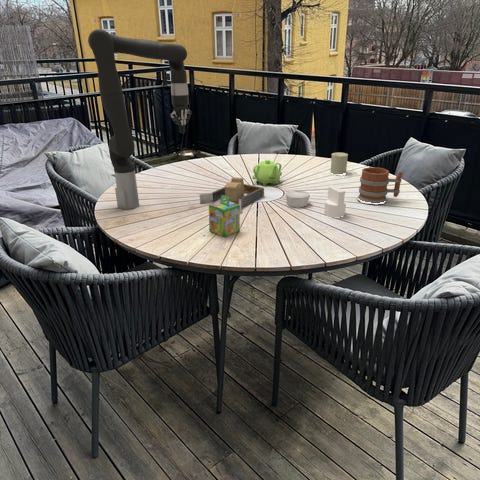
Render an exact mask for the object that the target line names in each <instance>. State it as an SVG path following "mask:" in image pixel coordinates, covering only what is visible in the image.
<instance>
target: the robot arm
mask: <svg viewBox="0 0 480 480" xmlns="http://www.w3.org/2000/svg"><path fill="white" fill-rule="evenodd" d="M87 42H88V43H87V44H88V46H89V48H90V49H91V50H92V53H93V57H94V61H95V63H96V67H97V75H98V76H97V78H98V88H99V95H100V99H101V105H102V107H103V110H104V111H105V114H106V116H107V118H108V120H109V122H110V124H111V126H112V130H113V135H112V136H111V137H110V138H109V142H108V151H109V155H110V156H109V158H110V162H111V165H112V167H113V172H114V179H115V185H116V187H115V188H114V190H115V198H116V205H117V208H119V209H123V210H131V209H135V208H138V207H139V206H140V203H139V202H140V200H139V193H138V191H139V190H138V183H137V176H136V168H135V164H134V162H133V161H132V158H131V157H132V155H133V154H134V153H135V147H136V146H135V142H134V139H133V135H132V132H131V129H130V124H129V119H128V114H127V109H126V103H125V102H126V101H125V97H124V93H123V88H122V84H121V83H122V82H121V80H120V76H119V73H118V69H117V66H116V65H117V64H116V58H115V54H122V55H123V54H124V55H130V56H134V57H140V58H143V59H151V60H157V61H159V60H161V61H162V60H163V61H167V62H168V65H169V70H170V93H171V105H172V106H173V108H172V112H171V113H169V117H170V119H172V120H171V121H173V123H174V124H175V125H178V132H179V133H180V134H185V133H186V124H188V123H189V121H190V119H191V116H192V114H193V111H192V110H190V109H189V106H188V105H189V104H190V102H189V101H190V100H189V99H190V98H189V86H188V78H187V77H188V75H187V70H186V69H185V63H184V62H185V60H186V59H187V57H188V51H187V49H186V48H185V46H183V45H181V44H177V43H167V42H166V43H165V42H162V41H157V40H150V39H144V38H134V37H133V38H131V37H123V36H118V35H115V34H112V33H109V32H108V31H107V30H105V29H102V28H98V29H94V30H92V31H91V32H90V33H89V34H88V39H87Z"/></svg>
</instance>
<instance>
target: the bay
mask: <svg viewBox="0 0 480 480" xmlns="http://www.w3.org/2000/svg"><path fill="white" fill-rule="evenodd" d="M224 187H225V186H223V187H221V188H219V189H216V190H214V191H212V192H206V193H199V203H200V204H201V205H202V204H212V203H216V201H217V202H218V201H219V200H221V196H222V195H224V196H225V188H224ZM244 188H245V191H244V196H243V197H241V198H239V205H240V214H241V213H242V209H243V208H245V207H246V205H247V206H249V205H251V204H252V203H254V202H256V201H258V200H260V199H262V198H264V197H265V187H262V186H258V185H257V186H256V185H254V184H253V185H251V184H246V183H244ZM245 194H246V195H245ZM248 204H249V205H248ZM244 206H245V207H244ZM242 207H243V208H242Z"/></svg>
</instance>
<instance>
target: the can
mask: <svg viewBox="0 0 480 480" xmlns="http://www.w3.org/2000/svg"><path fill="white" fill-rule="evenodd" d="M348 157H349V154H348V153H347V152H346V153H345V152H333V153H331V161H330V162H331V163H330V172H331V173H333V174H343V173H346V174H347V169H348Z"/></svg>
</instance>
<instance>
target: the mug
mask: <svg viewBox="0 0 480 480" xmlns="http://www.w3.org/2000/svg"><path fill="white" fill-rule="evenodd" d="M389 175H390V171H389V170H388V169H386V168H382V167H372V166H368V167H364V168H362V169H361V176H360V179H359V182H360V186H359V188H358V192H359V195H357V197H358V198H359V199H360V200H362V201H365V202H371V203H380V202H384V201H386V200H387V201H388V199H386V198H387V195H388V194H389V193H392V194H393V197H395V198H397V197H398V196H399V194H400V193H401V192H400V191H401V190H400V187H401V183H402V180H403V179H402V176H403V171H398V174H397V175H396V177H395V178H389ZM389 183H394V186H393V187H394V188H392V189H391V188H388V185H389Z"/></svg>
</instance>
